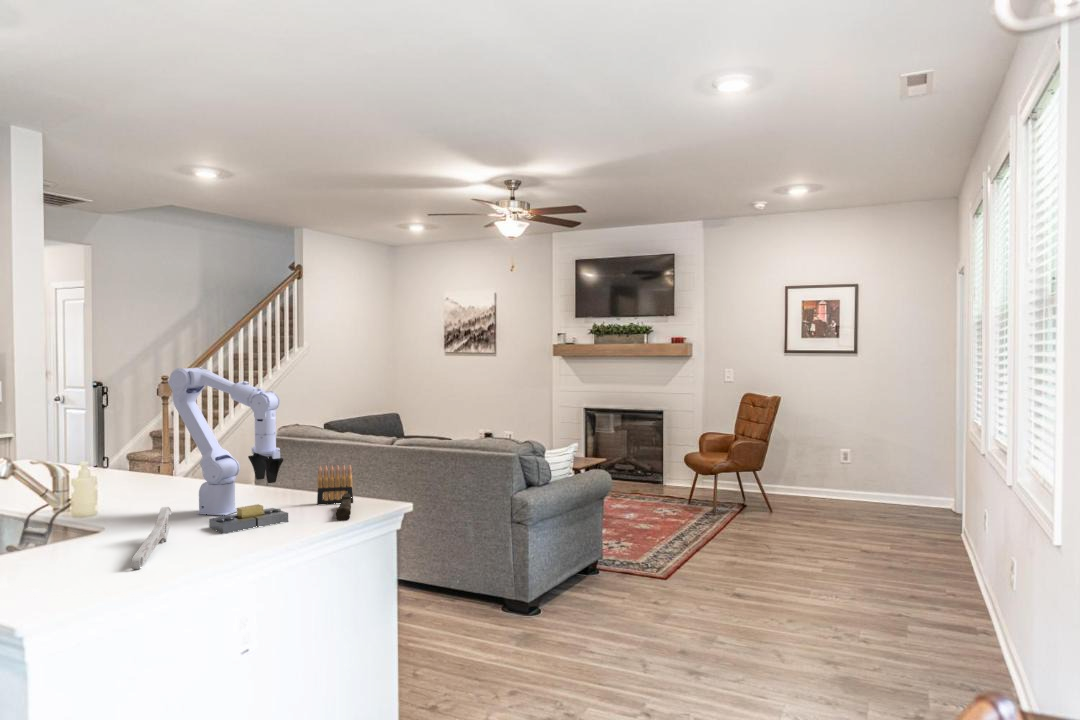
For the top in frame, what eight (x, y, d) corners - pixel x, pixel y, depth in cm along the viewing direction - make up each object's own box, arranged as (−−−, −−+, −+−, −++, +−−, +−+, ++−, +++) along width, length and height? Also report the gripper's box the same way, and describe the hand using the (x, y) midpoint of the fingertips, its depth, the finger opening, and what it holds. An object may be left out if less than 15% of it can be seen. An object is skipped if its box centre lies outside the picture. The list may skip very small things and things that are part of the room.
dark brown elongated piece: (350, 521, 210) (350, 504, 210) (335, 522, 209) (335, 505, 209) (356, 507, 229) (356, 491, 229) (343, 507, 228) (343, 492, 228)
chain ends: (223, 533, 196) (223, 522, 196) (209, 527, 202) (209, 517, 202) (288, 521, 209) (288, 511, 209) (273, 516, 215) (273, 506, 215)
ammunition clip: (317, 504, 230) (316, 465, 230) (317, 503, 232) (317, 464, 232) (353, 503, 232) (352, 464, 232) (353, 501, 234) (352, 463, 234)
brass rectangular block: (242, 528, 202) (241, 509, 202) (237, 526, 204) (236, 507, 204) (263, 524, 207) (263, 505, 206) (258, 522, 209) (258, 504, 209)
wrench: (131, 583, 165) (165, 534, 194) (141, 583, 166) (172, 533, 195) (130, 548, 164) (163, 504, 193) (139, 548, 165) (171, 503, 193)
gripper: (290, 435, 214) (290, 482, 215) (267, 430, 225) (268, 475, 225) (266, 437, 210) (266, 485, 210) (244, 432, 220) (244, 478, 220)
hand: (265, 480), depth 217 cm, fingers open, 7 cm apart
